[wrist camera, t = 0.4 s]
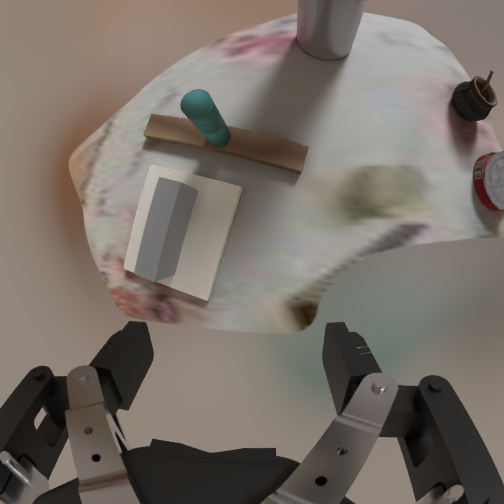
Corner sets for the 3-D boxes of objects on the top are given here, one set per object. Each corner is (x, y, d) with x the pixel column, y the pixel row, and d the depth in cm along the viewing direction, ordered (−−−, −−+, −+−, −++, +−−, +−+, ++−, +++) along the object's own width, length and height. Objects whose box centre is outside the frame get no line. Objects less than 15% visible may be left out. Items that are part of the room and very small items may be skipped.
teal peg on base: (156, 118, 38) (114, 83, 25) (307, 151, 36) (318, 112, 23) (149, 138, 38) (102, 108, 25) (300, 174, 36) (309, 144, 23)
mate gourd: (448, 114, 32) (478, 91, 22) (446, 82, 31) (472, 57, 21) (477, 132, 31) (510, 114, 21) (475, 100, 31) (503, 79, 21)
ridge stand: (155, 166, 38) (128, 153, 30) (242, 188, 37) (231, 176, 29) (128, 267, 40) (98, 274, 32) (210, 298, 38) (192, 314, 30)
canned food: (490, 205, 36) (521, 229, 28) (459, 193, 36) (492, 218, 28) (505, 152, 30) (540, 169, 22) (474, 133, 30) (512, 149, 22)
